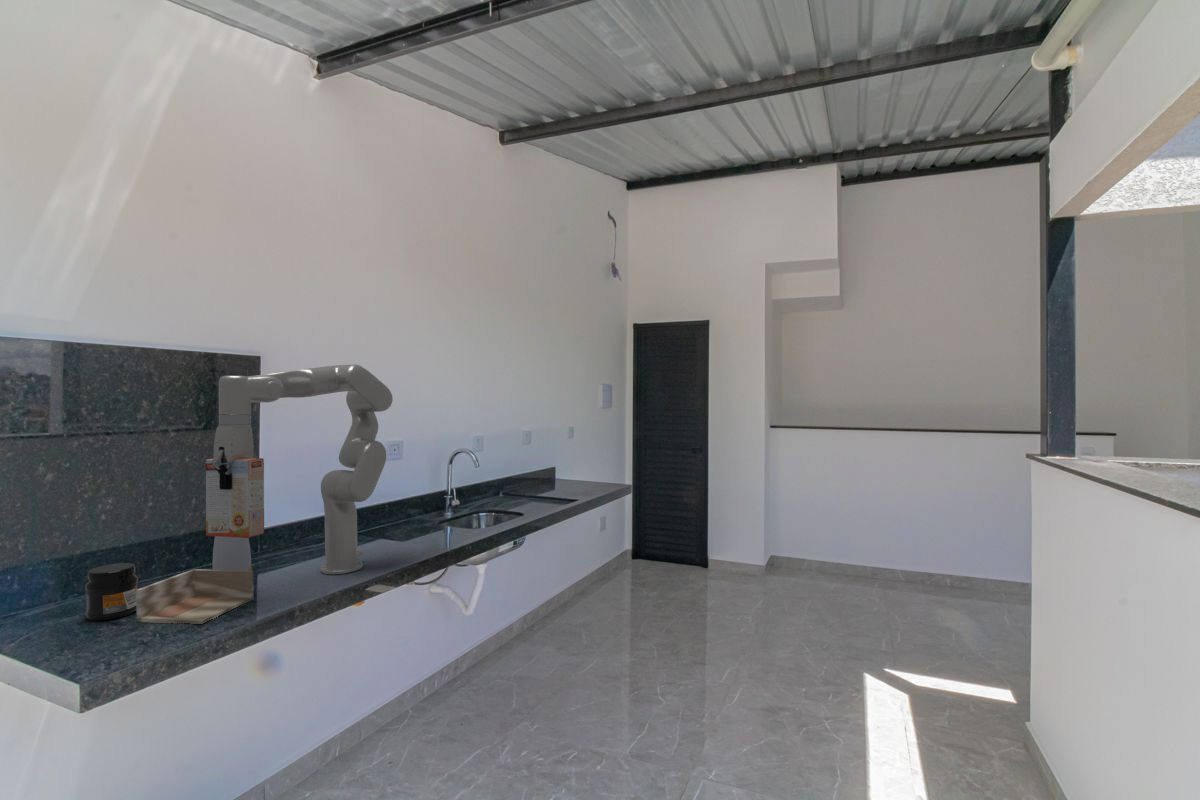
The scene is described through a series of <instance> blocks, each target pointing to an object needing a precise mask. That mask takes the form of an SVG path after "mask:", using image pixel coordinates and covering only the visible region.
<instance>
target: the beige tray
mask: <svg viewBox="0 0 1200 800" xmlns="http://www.w3.org/2000/svg"><path fill="white" fill-rule="evenodd" d="M253 599H254V570H252V571H243V570H213V569H209V568H194V569H193V568H192V569H190V570H187V571H184V572H182V573H179V574H176V575H173V576H170V577H168V578H165V579H163V580H160V581H157V582H153V583H152V584H148V585H146V586H142V587H140V588H137V590H136V604H137V610H136V622H137V623H150V624H151V623H153V624H171V623H173V624H175V625H185V624H184V623H190V624H189V625H193V624H203V623H205V622H207V621H209V620H211V619H213V620H215V619H217V618H219V617H218V616H219V615H221V614H223V613H225V612H227V611H229V610H231V609H233V608H236V607H238V606H240V605H242V604H244V603H246V602H248V603H250V602H249V601H251V600H253ZM253 601H254V600H253ZM251 602H252V601H251ZM246 604H247V603H246ZM244 605H245V604H244ZM242 606H243V605H242ZM240 607H241V606H240ZM238 608H239V607H238ZM236 609H237V608H236ZM216 617H217V618H216ZM214 618H215V619H214ZM211 621H212V620H211ZM209 622H210V621H209ZM177 623H178V624H177ZM179 623H180V624H179ZM181 623H183V624H181ZM207 623H208V622H207ZM205 624H206V623H205ZM203 625H204V624H203Z"/></svg>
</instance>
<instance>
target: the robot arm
mask: <svg viewBox="0 0 1200 800" xmlns="http://www.w3.org/2000/svg"><path fill="white" fill-rule="evenodd" d="M342 392H347V393H346V396H345V397H346V398H345V401H346V405H347V406H348V409H349V411H350V415H351V425H350V429H349V431H348V433H347V435H346V437H345V439H344V442H343V444H342V446H341V448H340V451H339V454H338V461H339V463H340V464H341V465H342V466H343V467H345V468H348V469H335V470H331V471H329V472H327V473H326V474H324V476H323V478H322V479H321V482H320V493H321V498H322V501H323V502H322V503H323V509H324V510H323V511H324V512H323V513H324V545H325V546H324V548H325V550H324V552H325V553H324V554H325V555H324V556H325V558H324V559H325V564H323V565H321V566H320V571H319V572H320V573H322V574H325V575H343V574H349V573H353V572H357V571H360V570H362V568H363V567H364V562H362V560H359V557H362V556H363V555H364V551H363V550H362V549H358V511H357V506H356V504H355V503H361V502H365V501H367V500H368V499H369V498H370V497H371V496H372V494H373V493H374V490H375V488H376V486H377V485H378V481H379V480H380V477H381V475H382V472H383V470H384V467H385V464H386V461H387V450H386V447H385V445H384V444H383V443H382V442H380V441H378V440H376V439H377V438H376V437H377V436H378V432H379V422H378V421H379V420H378V418H377V415H376V412H377V413H378V412H380V413H381V412H385V411H387V410H388V409H389V408H390V407H391V406H392V404H393V400H394V399H393V394H392V391H391V390H390V389H389V388H388V386H387V385H385V384H384V383H383V381H381V380H380V379H379V378H378V377H376V376H375V375H374V374H373V373H372V372H370V371H369V370H368V369H367V368H365V367H363V366H362V365H359V364H337V365H327V366H321V367H320V366H319V367H318V366H317V367H310V368H302V369H294V370H289V371H283V372H274V373H264V374H257V375H256V374H255V375H249V376H246V375H222V376H220V378H219V380H218V426H217V427H216V429H215V435H214V442H213V443H214V444H213V458H212V459H213V460H212V464H213V465H214V466H215V469H216V470H217V471H218V474H219V477H220V489H226V490H230V489H232V474H230V472H231V468H232V464H233V463H234V460H236V459H241V458H257V455H256V453H255V452H254V450H255V449H254V448H255V447H254V435H253V429H252V403H272V402H273V403H274V402H275V401H277V400H279V399H285V398H296V399H297V398H311V397H316V396H322V395H328V394H335V393H336V394H337V393H342ZM225 461H227V462H225ZM225 466H227V468H225ZM349 469H354V470H349Z"/></svg>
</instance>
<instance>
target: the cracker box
mask: <svg viewBox="0 0 1200 800" xmlns="http://www.w3.org/2000/svg"><path fill="white" fill-rule="evenodd" d="M213 459H214V458H207V459H206V460H205V535H206V537H215V536H219V537H237V538H249V539H250V538H254V537H258V536H261V535H264V534H265V458H261V457H259V458H241V459H236V460H234V463H233V464H232V468H231V472H230V474H232V489H230V490H226V489H220V477H219V474H218V471H217V470H216V469H215V466H214V465H213V464H212V460H213ZM225 462H227V461H225ZM225 468H227V466H225Z"/></svg>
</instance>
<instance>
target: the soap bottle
mask: <svg viewBox="0 0 1200 800" xmlns="http://www.w3.org/2000/svg"><path fill="white" fill-rule="evenodd" d="M251 554H252V553H251V544H250V538H237V537H219V536H214V542H213V548H212V570H243V571H254V569H253V567H252V555H251Z"/></svg>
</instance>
